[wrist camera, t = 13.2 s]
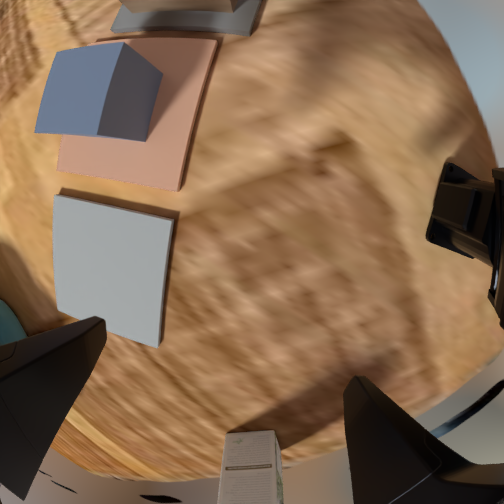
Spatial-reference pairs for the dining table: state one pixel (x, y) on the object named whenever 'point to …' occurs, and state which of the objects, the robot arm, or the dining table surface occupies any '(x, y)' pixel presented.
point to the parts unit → (187, 15)
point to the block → (99, 93)
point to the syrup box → (251, 469)
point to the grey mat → (111, 265)
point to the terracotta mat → (161, 124)
